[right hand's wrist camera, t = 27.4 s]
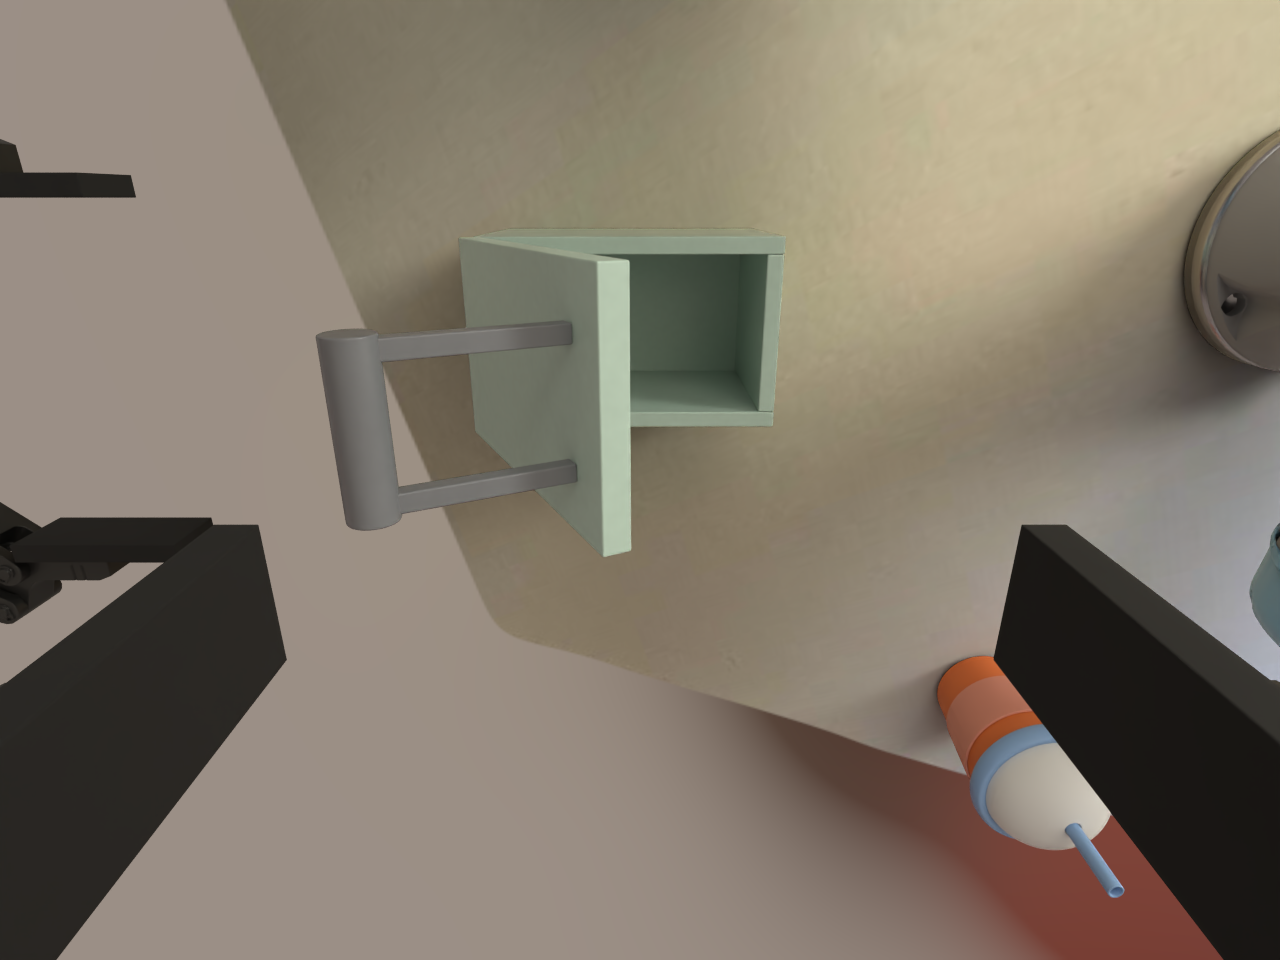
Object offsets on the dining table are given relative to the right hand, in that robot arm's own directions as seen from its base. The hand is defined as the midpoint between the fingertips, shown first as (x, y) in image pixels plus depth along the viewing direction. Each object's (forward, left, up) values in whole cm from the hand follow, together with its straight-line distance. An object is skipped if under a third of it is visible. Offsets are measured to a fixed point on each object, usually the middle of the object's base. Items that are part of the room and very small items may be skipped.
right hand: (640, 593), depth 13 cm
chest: (0, 0, -36) cm, 36 cm away
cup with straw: (+21, +33, -36) cm, 54 cm away
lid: (+1, -4, -18) cm, 18 cm away
